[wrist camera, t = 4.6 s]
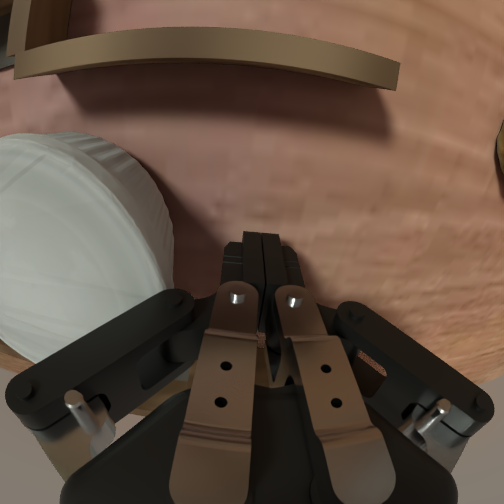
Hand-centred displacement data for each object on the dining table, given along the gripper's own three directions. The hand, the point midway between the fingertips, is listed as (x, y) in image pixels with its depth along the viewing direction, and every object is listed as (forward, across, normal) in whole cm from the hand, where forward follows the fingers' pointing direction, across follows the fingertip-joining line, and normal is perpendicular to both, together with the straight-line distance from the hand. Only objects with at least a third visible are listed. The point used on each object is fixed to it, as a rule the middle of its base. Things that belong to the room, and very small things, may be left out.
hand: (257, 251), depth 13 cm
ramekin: (+1, +8, 0) cm, 9 cm away
